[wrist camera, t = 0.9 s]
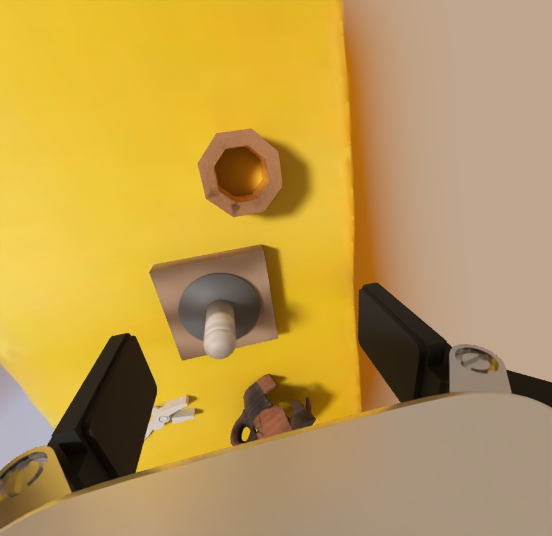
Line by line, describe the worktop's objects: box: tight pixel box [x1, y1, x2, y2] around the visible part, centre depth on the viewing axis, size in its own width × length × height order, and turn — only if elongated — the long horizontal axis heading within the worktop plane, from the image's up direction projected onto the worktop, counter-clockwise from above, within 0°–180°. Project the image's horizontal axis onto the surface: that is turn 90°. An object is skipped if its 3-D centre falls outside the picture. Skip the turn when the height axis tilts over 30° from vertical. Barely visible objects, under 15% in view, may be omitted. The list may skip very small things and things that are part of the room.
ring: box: [198, 129, 283, 217], centre depth 25 cm, size 7×7×4 cm
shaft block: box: [149, 245, 278, 360], centre depth 28 cm, size 12×12×10 cm
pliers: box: [144, 395, 195, 440], centre depth 37 cm, size 10×2×15 cm
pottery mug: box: [231, 374, 316, 446], centre depth 38 cm, size 12×10×8 cm
